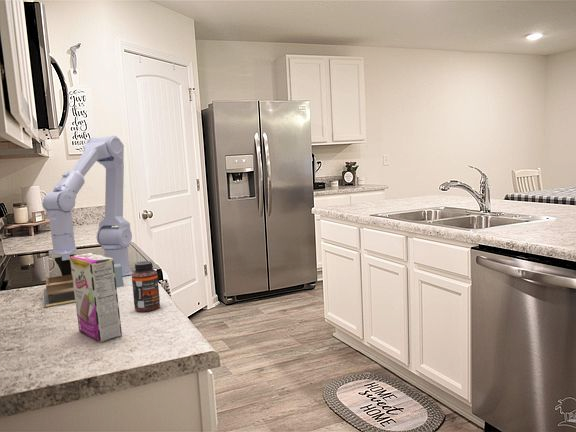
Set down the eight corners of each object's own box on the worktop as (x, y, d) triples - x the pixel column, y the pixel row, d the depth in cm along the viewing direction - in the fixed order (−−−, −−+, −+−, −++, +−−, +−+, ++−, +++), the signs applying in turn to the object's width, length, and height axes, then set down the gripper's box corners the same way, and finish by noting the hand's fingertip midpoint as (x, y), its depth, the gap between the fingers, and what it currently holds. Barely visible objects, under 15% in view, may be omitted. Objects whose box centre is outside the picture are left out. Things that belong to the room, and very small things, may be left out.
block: (105, 285, 142) (103, 265, 141) (121, 283, 144) (119, 263, 143) (107, 289, 138) (105, 268, 137) (123, 286, 140) (121, 266, 139)
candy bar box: (77, 331, 102) (68, 256, 100) (100, 325, 106) (92, 251, 104) (99, 344, 94) (89, 262, 92) (123, 336, 98) (114, 257, 96)
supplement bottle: (145, 313, 112) (140, 266, 110) (129, 310, 115) (124, 264, 114) (165, 306, 117) (161, 260, 115) (150, 303, 120) (145, 259, 119)
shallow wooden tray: (48, 294, 134) (45, 278, 133) (90, 287, 138) (88, 271, 138) (48, 304, 124) (45, 286, 123) (93, 296, 129) (91, 279, 128)
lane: (44, 289, 142) (44, 288, 142) (91, 282, 147) (91, 280, 147) (44, 308, 122) (43, 306, 122) (98, 298, 128) (98, 297, 128)
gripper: (46, 232, 140) (52, 278, 141) (46, 238, 127) (53, 289, 128) (73, 229, 143) (78, 274, 144) (75, 235, 130) (81, 284, 131)
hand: (68, 281), depth 136 cm, fingers closed
